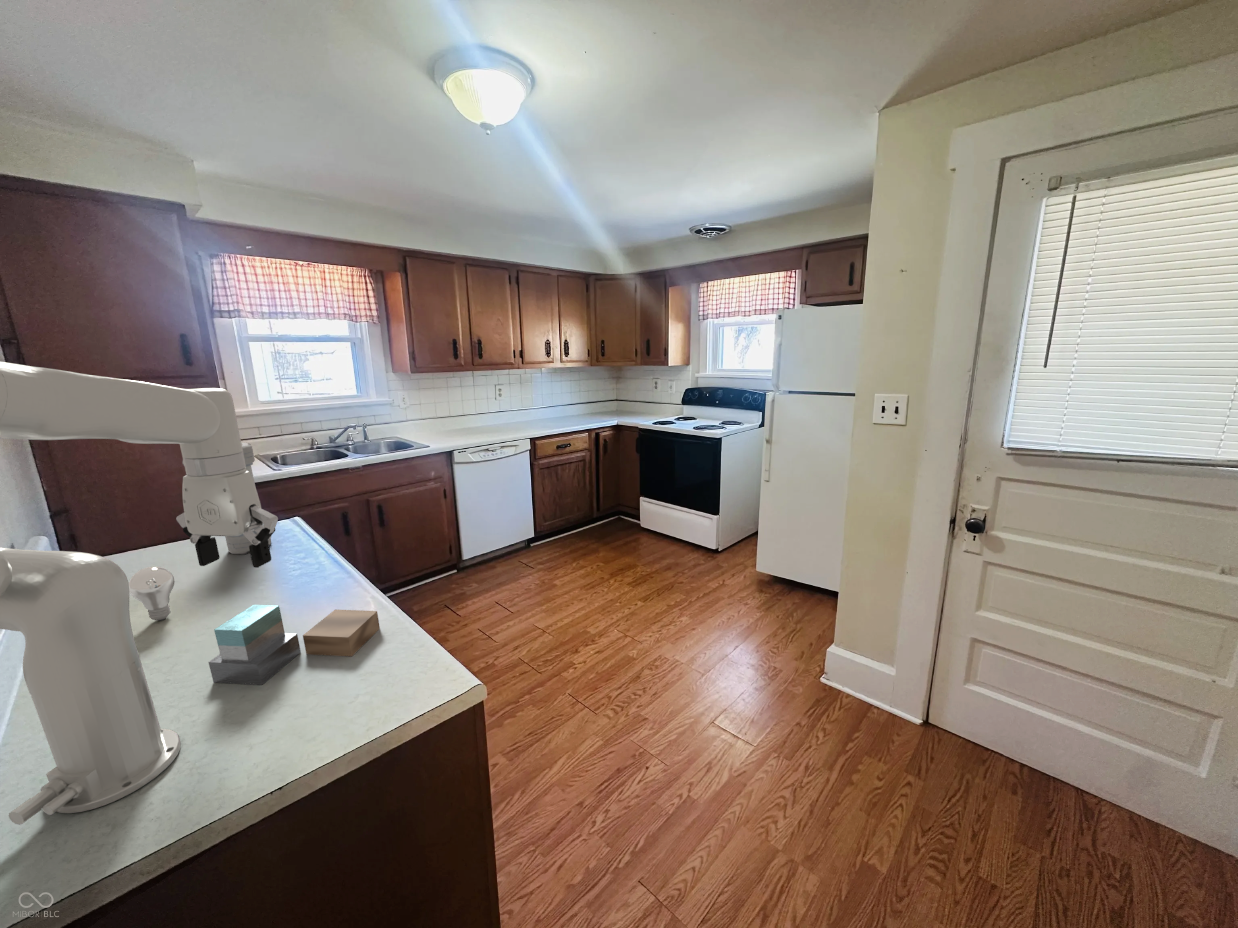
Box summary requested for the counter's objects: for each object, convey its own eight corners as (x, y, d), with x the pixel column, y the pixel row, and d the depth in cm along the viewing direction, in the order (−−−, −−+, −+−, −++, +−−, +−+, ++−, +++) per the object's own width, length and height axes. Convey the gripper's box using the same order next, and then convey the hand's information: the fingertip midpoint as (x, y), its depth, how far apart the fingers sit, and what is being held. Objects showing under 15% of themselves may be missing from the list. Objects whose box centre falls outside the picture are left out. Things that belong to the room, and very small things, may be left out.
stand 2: (351, 656, 89) (348, 637, 88) (306, 654, 90) (302, 635, 89) (379, 628, 98) (377, 610, 97) (338, 626, 98) (335, 609, 97)
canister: (229, 558, 132) (205, 451, 125) (228, 547, 140) (205, 446, 133) (273, 547, 139) (252, 446, 132) (270, 537, 146) (250, 441, 139)
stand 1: (261, 684, 82) (257, 664, 81) (213, 682, 83) (208, 662, 82) (300, 652, 90) (297, 633, 89) (256, 650, 91) (252, 631, 90)
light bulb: (152, 631, 98) (137, 577, 95) (131, 625, 100) (115, 573, 97) (191, 613, 104) (178, 563, 102) (170, 608, 107) (157, 558, 104)
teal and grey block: (248, 662, 81) (241, 630, 80) (221, 660, 82) (214, 629, 80) (285, 634, 89) (279, 605, 88) (260, 633, 90) (253, 604, 88)
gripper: (143, 470, 75) (168, 571, 79) (245, 471, 73) (265, 574, 77) (189, 460, 82) (210, 553, 86) (283, 460, 81) (299, 555, 85)
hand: (236, 563), depth 82 cm, fingers open, 9 cm apart
